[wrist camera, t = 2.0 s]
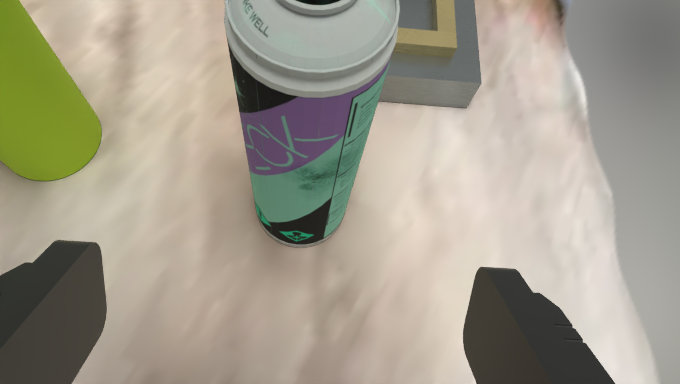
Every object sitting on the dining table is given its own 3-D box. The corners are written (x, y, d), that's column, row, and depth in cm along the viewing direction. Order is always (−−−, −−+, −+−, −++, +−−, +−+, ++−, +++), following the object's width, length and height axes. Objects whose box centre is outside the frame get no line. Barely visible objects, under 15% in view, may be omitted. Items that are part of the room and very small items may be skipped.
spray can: (284, 151, 33) (278, -168, 14) (359, 189, 32) (454, -90, 14) (238, 221, 31) (165, -46, 12) (318, 264, 30) (365, 51, 12)
